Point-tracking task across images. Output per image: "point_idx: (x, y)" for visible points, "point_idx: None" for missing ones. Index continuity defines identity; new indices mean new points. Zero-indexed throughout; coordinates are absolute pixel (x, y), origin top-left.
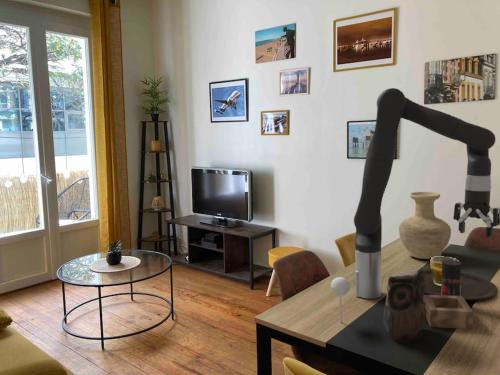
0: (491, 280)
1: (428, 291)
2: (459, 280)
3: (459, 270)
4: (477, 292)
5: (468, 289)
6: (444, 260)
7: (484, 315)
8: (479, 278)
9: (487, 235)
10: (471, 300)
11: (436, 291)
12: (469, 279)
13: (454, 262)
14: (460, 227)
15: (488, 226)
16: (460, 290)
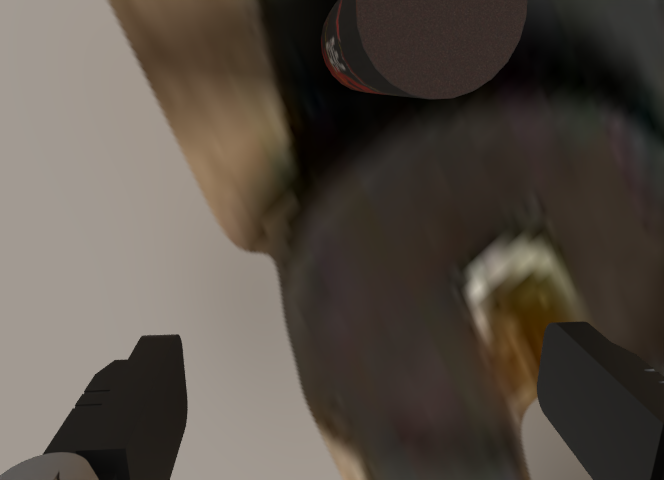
0: (358, 473)
1: (529, 127)
2: (337, 20)
3: (349, 7)
4: (340, 292)
5: (388, 298)
6: (514, 20)
7: (178, 27)
8: (409, 460)
9: (140, 348)
10: (315, 172)
11: (497, 158)
12: (439, 419)
13: (419, 26)
14: (629, 364)
15: (61, 464)
16: (333, 57)
